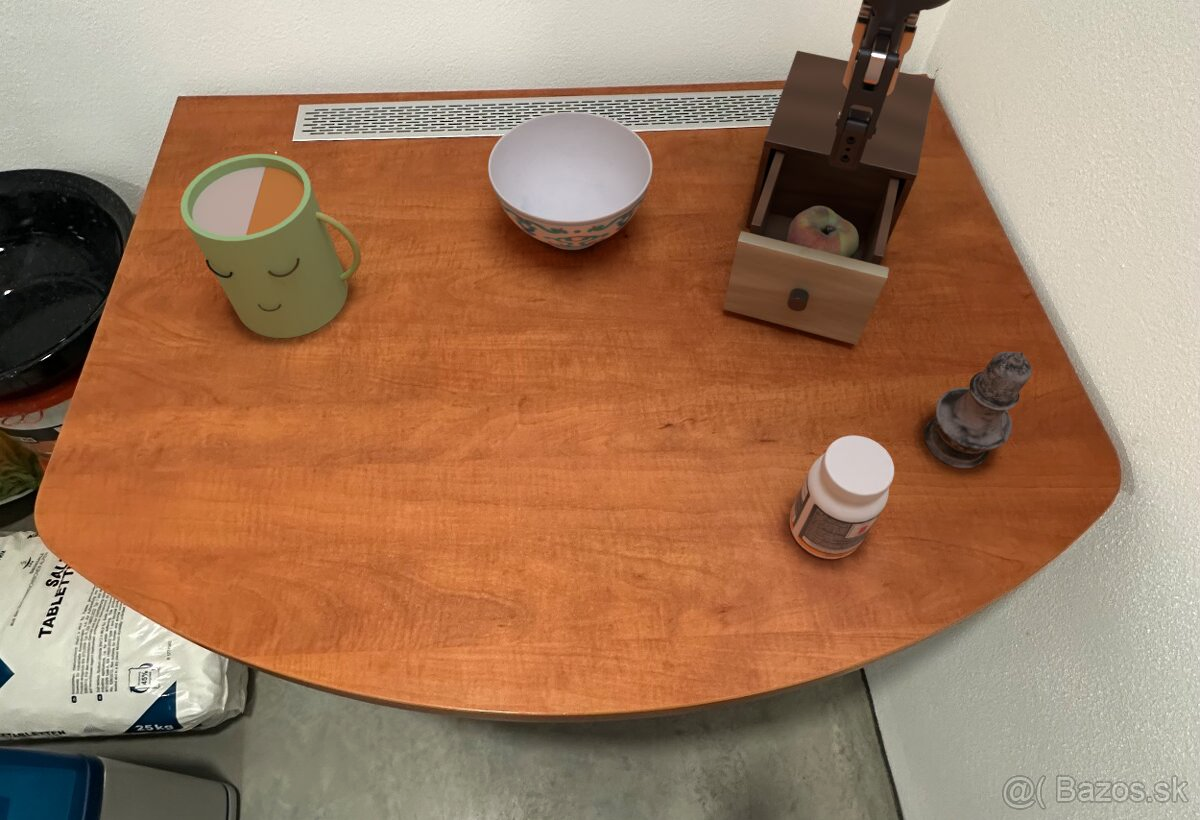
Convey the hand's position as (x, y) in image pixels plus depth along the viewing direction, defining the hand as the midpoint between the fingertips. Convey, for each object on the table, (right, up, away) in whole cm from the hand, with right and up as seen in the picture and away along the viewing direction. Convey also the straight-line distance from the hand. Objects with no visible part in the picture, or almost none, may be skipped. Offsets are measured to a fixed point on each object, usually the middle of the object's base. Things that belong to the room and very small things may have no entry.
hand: (851, 131), depth 62 cm
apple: (0, -8, +13) cm, 15 cm away
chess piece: (+10, -24, +5) cm, 27 cm away
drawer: (-1, -9, +13) cm, 16 cm away
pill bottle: (-2, -31, 0) cm, 31 cm away
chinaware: (-22, -3, +18) cm, 29 cm away
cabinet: (+4, +1, +21) cm, 21 cm away
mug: (-47, -11, +12) cm, 50 cm away
